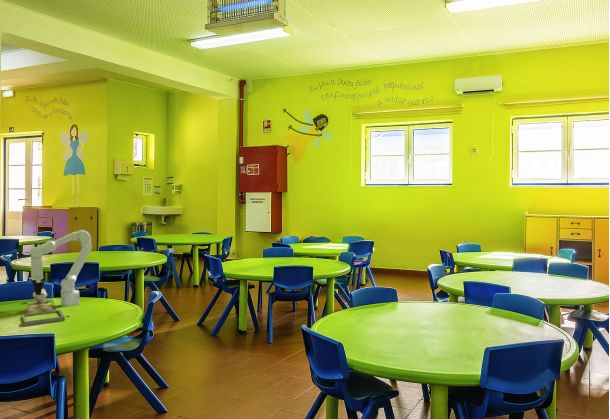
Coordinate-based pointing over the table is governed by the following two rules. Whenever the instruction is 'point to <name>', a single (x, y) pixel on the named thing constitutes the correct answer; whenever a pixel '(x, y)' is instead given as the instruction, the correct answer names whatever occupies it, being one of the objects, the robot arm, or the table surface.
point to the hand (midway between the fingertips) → (37, 293)
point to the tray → (43, 321)
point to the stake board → (38, 304)
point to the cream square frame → (39, 307)
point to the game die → (40, 297)
